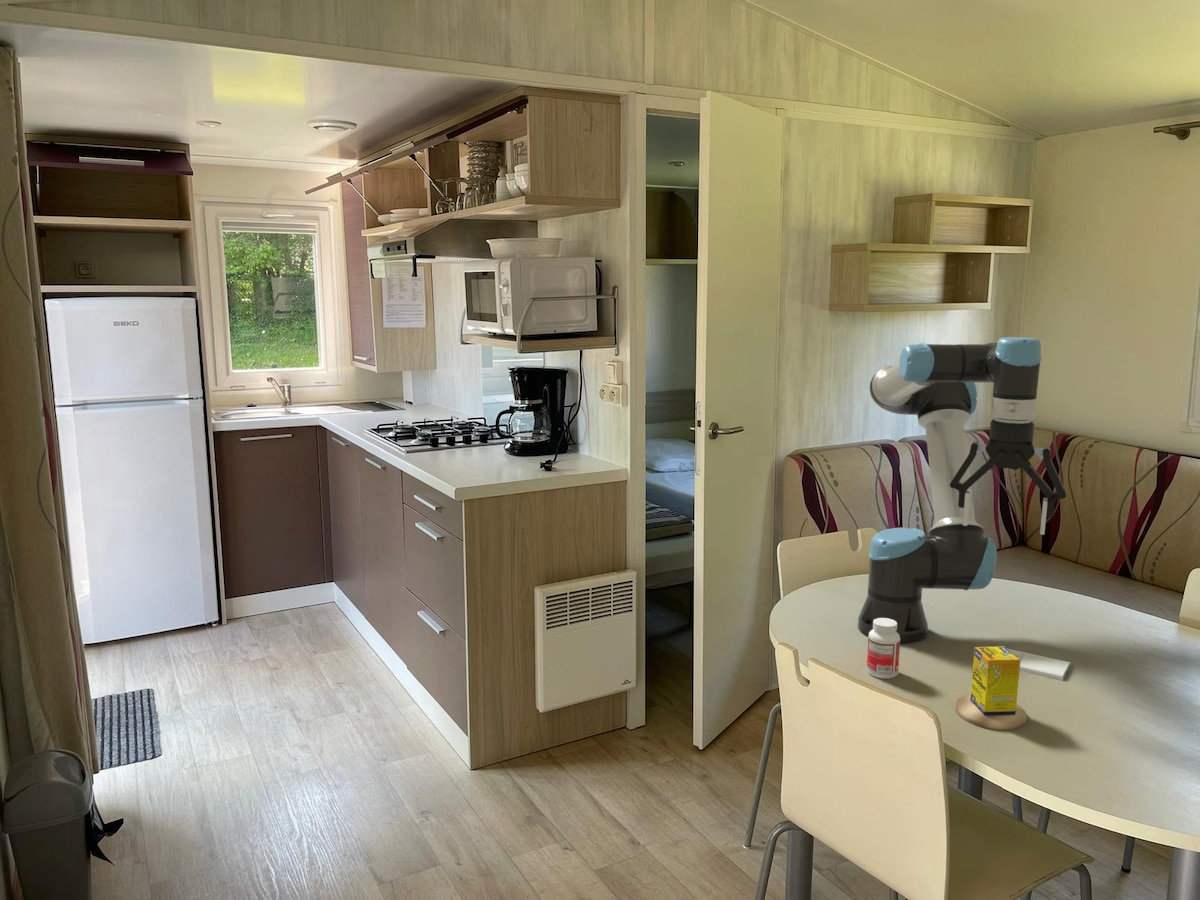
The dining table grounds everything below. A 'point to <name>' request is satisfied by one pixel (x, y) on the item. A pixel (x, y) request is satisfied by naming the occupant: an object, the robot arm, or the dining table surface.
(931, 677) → the dining table surface
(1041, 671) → the external hard drive
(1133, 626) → the dining table surface
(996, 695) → the supplement box
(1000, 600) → the dining table surface
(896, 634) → the pill bottle
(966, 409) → the robot arm
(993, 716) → the disc
